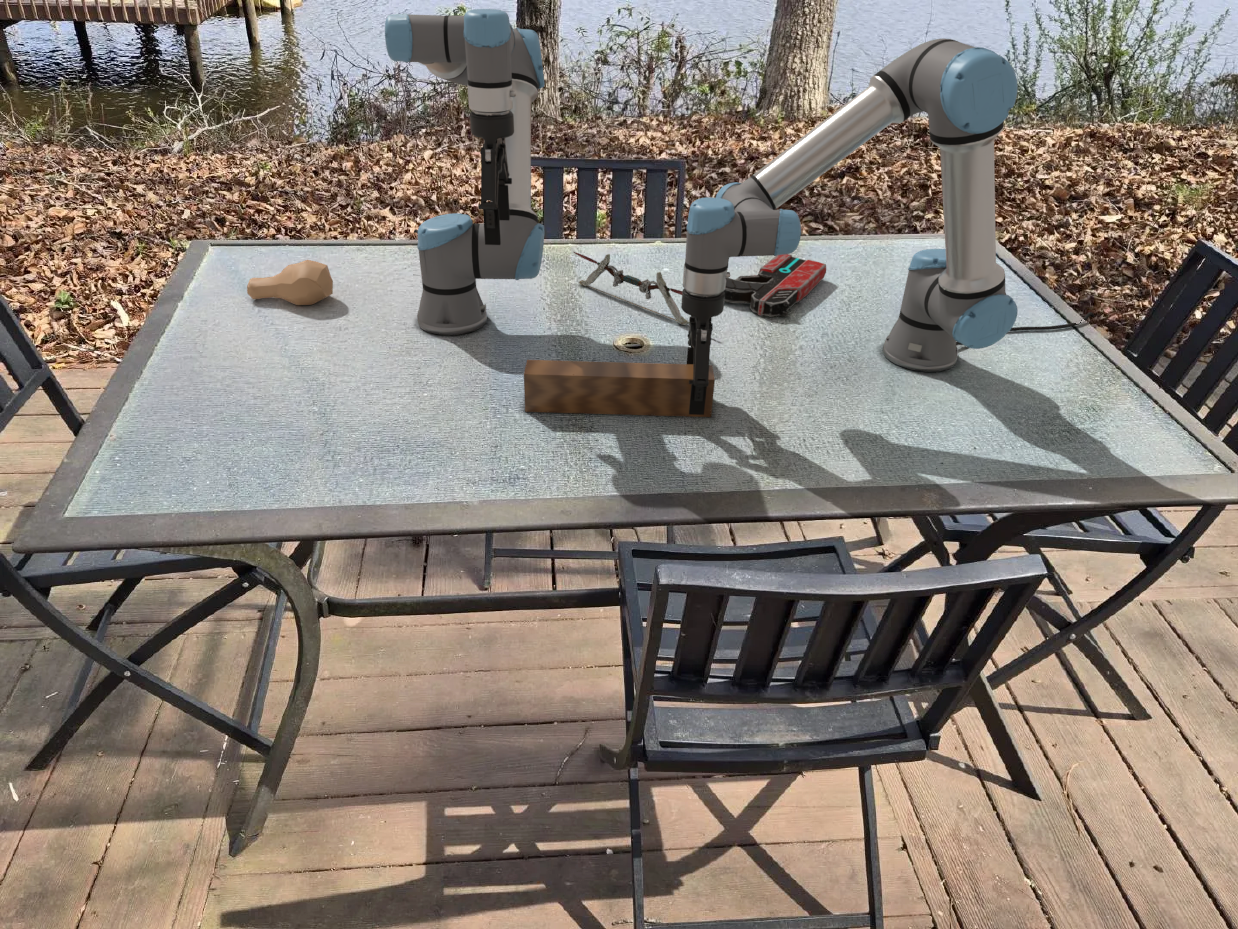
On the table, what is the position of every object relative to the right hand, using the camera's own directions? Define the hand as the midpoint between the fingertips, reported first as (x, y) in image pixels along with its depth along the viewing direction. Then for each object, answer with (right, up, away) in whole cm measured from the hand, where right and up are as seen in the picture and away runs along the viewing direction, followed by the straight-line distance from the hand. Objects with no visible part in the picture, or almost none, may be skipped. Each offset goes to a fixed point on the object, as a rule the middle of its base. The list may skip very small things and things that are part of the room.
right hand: (694, 395), depth 166 cm
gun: (+23, +30, +51) cm, 63 cm away
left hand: (-37, +30, -3) cm, 48 cm away
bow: (-11, +25, +42) cm, 50 cm away
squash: (-90, +25, +39) cm, 102 cm away
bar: (-14, -2, +2) cm, 15 cm away
